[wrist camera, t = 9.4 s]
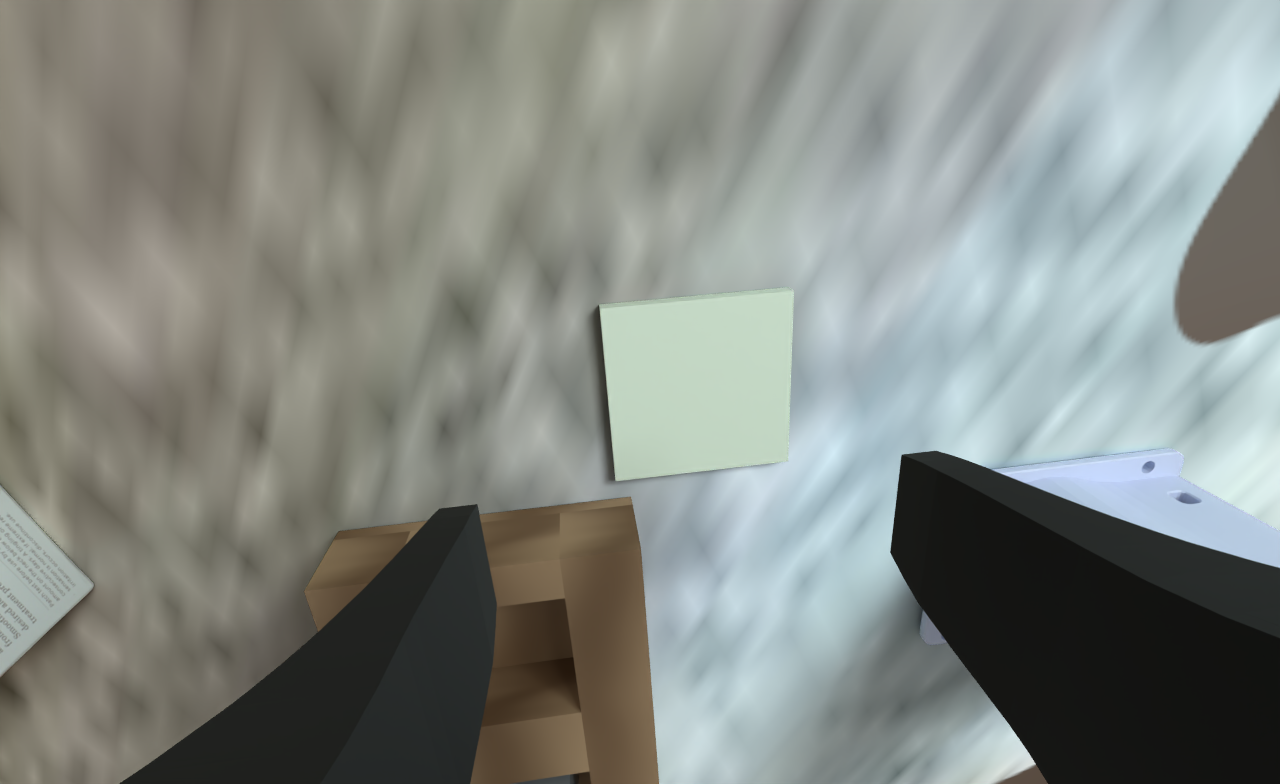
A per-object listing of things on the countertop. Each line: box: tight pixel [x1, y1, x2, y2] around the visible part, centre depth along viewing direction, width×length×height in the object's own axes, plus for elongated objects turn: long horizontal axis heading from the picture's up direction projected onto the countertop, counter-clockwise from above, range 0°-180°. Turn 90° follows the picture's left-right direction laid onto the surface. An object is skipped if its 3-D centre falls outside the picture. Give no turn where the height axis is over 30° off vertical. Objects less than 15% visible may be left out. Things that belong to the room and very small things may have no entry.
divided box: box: [304, 497, 659, 784], centre depth 23 cm, size 10×16×3 cm, turn 4°
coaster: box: [599, 287, 794, 481], centre depth 20 cm, size 6×6×1 cm
